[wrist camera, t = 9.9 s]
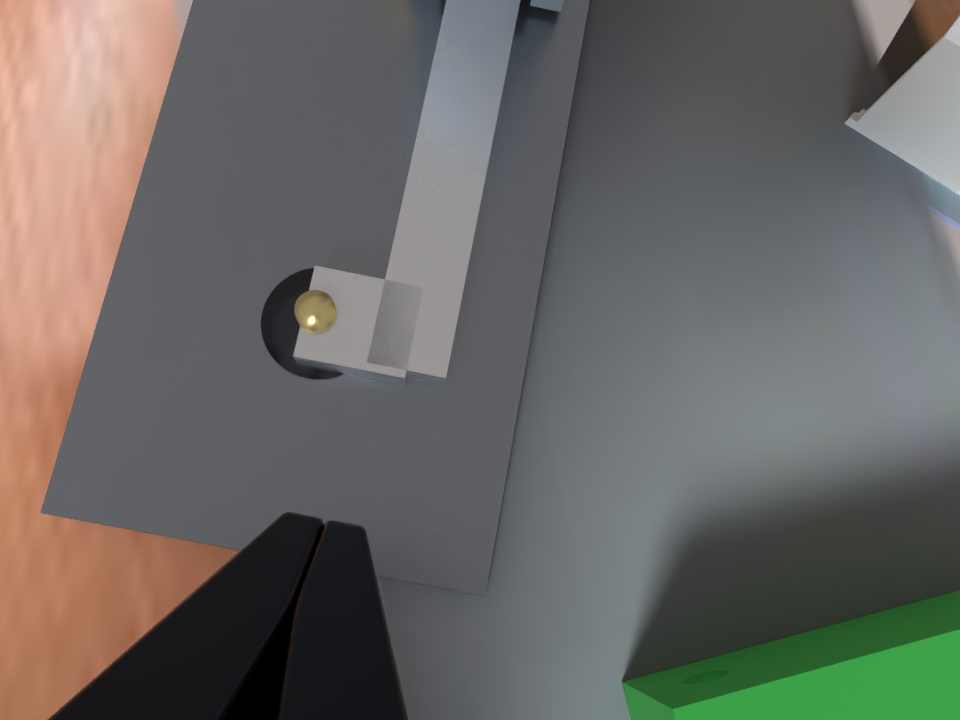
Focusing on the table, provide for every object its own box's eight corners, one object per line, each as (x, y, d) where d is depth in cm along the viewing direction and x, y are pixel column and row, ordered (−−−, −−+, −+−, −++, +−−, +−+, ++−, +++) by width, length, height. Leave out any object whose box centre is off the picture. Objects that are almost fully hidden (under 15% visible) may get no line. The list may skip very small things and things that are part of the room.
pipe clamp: (659, 836, 22) (723, 906, 17) (618, 680, 22) (669, 708, 18) (1064, 717, 23) (1219, 753, 19) (1012, 574, 24) (1150, 576, 19)
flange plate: (483, 595, 22) (490, 598, 20) (50, 513, 22) (17, 509, 20) (609, -122, 27) (624, -171, 26) (260, -199, 27) (250, -255, 25)
